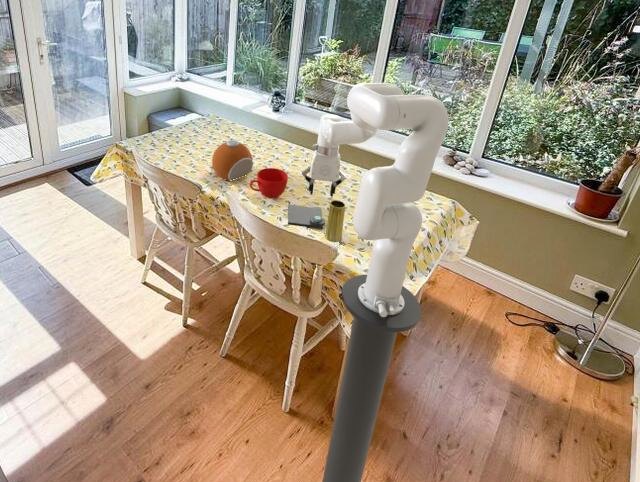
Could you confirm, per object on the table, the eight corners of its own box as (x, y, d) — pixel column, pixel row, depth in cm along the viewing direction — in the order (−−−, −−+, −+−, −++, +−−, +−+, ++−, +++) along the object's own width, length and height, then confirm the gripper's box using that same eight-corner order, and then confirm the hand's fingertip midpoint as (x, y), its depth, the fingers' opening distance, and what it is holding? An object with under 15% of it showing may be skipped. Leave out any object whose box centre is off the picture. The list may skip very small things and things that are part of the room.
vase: (343, 242, 147) (349, 208, 141) (326, 242, 146) (331, 208, 141) (339, 232, 152) (344, 199, 147) (322, 232, 152) (327, 199, 147)
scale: (324, 230, 154) (325, 224, 153) (287, 225, 156) (288, 220, 155) (322, 210, 167) (323, 205, 166) (288, 206, 170) (289, 201, 169)
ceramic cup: (243, 192, 180) (243, 172, 176) (277, 185, 186) (278, 166, 182) (255, 207, 169) (257, 185, 165) (291, 199, 175) (293, 179, 171)
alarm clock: (236, 163, 207) (237, 131, 200) (259, 177, 194) (260, 143, 187) (204, 173, 196) (204, 140, 190) (226, 188, 183) (227, 153, 177)
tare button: (321, 222, 155) (321, 219, 154) (314, 222, 155) (314, 219, 154) (320, 219, 157) (321, 216, 156) (314, 218, 157) (314, 215, 157)
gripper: (302, 150, 144) (297, 195, 150) (353, 155, 141) (346, 201, 147) (302, 143, 151) (297, 186, 157) (351, 147, 148) (344, 192, 154)
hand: (321, 193), depth 152 cm, fingers open, 6 cm apart
